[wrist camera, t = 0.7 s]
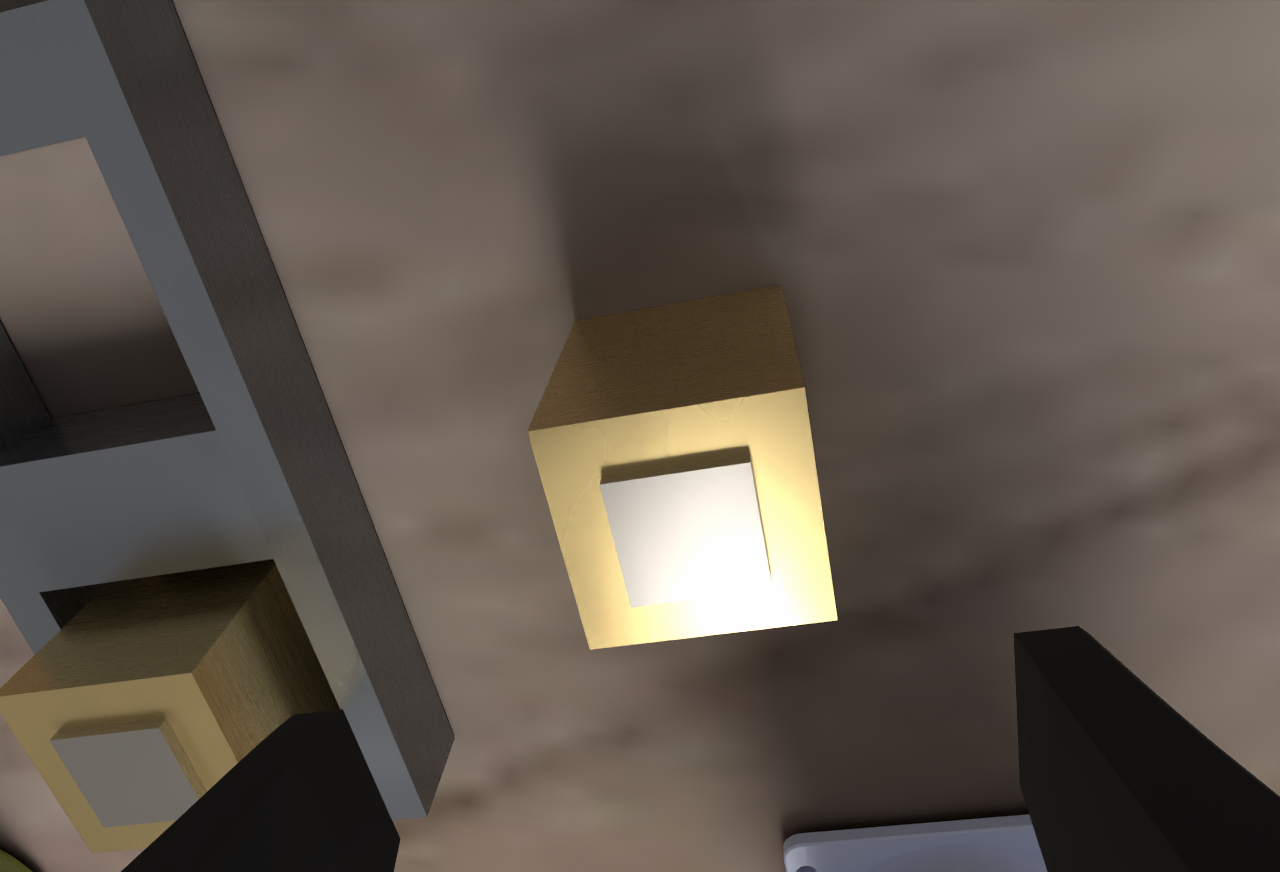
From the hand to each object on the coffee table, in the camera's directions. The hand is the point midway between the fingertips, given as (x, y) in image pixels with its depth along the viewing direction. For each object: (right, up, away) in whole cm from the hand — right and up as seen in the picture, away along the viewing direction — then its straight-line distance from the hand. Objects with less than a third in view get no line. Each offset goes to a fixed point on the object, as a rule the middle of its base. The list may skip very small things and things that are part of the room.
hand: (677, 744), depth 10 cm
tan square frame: (-9, -1, +12) cm, 15 cm away
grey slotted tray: (-10, +3, +10) cm, 14 cm away
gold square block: (+1, +4, +8) cm, 9 cm away
